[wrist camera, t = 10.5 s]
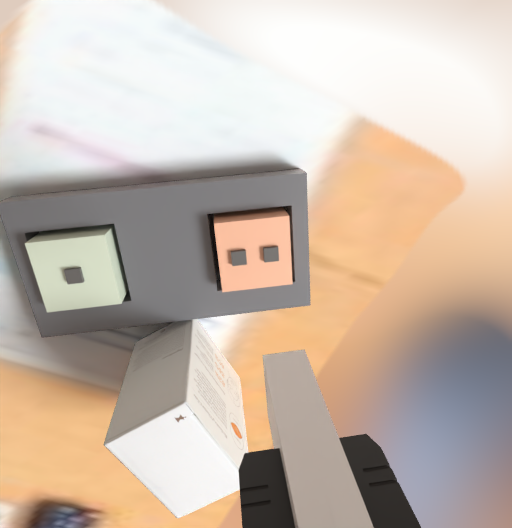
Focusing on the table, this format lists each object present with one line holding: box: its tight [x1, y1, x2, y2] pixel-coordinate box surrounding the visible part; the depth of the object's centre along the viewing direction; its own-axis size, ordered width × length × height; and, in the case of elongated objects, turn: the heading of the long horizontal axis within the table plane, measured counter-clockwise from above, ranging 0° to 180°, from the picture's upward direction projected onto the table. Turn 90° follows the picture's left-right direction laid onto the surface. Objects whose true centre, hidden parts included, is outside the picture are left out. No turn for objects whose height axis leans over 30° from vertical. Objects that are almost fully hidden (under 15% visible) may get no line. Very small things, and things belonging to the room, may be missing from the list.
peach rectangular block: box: [214, 206, 293, 292], centre depth 27 cm, size 5×5×3 cm
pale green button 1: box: [25, 224, 129, 312], centre depth 26 cm, size 5×5×3 cm
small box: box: [104, 319, 248, 518], centre depth 27 cm, size 8×6×10 cm
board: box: [0, 169, 310, 337], centre depth 28 cm, size 20×10×2 cm, turn 94°
